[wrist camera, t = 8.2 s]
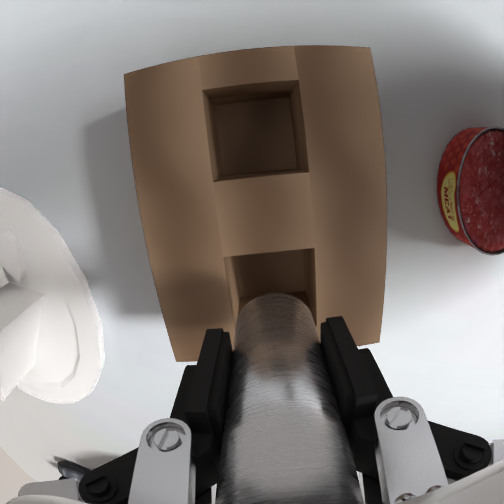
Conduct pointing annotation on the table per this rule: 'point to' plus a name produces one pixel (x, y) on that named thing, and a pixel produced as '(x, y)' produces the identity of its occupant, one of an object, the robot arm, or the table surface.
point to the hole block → (261, 186)
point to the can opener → (71, 470)
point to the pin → (282, 413)
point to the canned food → (474, 188)
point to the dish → (44, 310)
